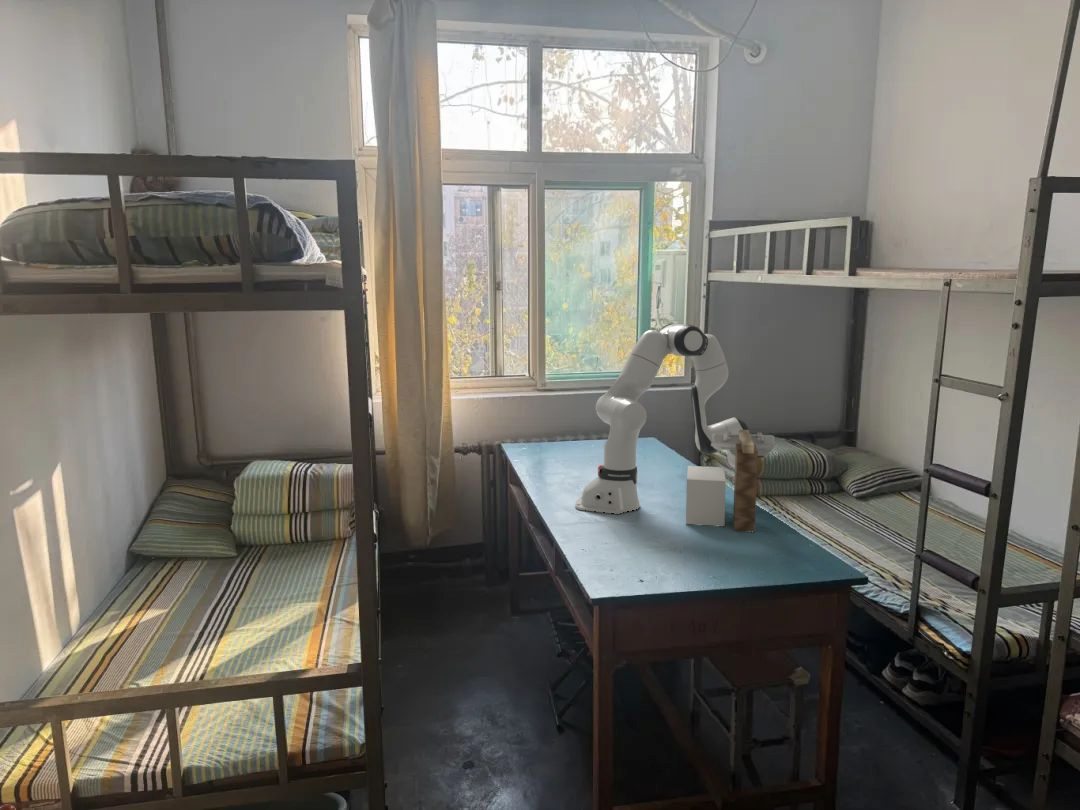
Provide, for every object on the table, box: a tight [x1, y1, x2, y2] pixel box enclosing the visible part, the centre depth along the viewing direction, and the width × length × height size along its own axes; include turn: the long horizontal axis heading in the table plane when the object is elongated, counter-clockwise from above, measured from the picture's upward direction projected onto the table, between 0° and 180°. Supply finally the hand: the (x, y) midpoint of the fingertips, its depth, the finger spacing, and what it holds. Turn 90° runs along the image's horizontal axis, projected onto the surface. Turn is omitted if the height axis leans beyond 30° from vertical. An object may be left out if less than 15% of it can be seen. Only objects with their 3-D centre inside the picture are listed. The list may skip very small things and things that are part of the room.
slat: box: [739, 430, 754, 453], centre depth 230 cm, size 3×24×2 cm, turn 168°
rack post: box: [732, 443, 758, 533], centre depth 229 cm, size 6×10×26 cm, turn 168°
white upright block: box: [685, 465, 727, 527], centre depth 240 cm, size 12×18×15 cm, turn 168°
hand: (744, 434), depth 237 cm, fingers open, 8 cm apart
